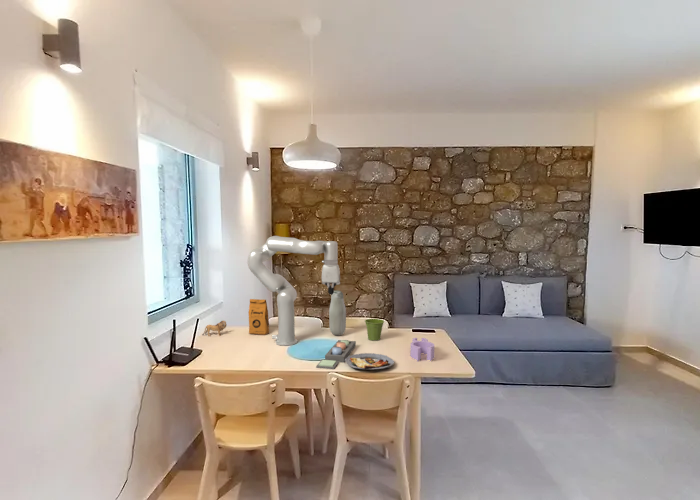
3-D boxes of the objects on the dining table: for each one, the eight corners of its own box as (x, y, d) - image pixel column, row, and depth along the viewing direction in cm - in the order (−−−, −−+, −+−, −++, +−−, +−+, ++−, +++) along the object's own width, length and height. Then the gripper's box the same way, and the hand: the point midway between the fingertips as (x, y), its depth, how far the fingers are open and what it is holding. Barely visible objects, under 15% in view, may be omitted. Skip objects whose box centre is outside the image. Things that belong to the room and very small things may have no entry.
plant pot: (381, 342, 255) (381, 323, 254) (361, 340, 259) (362, 322, 259) (386, 337, 266) (386, 319, 266) (368, 335, 270) (368, 317, 270)
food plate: (401, 369, 210) (401, 362, 210) (356, 376, 202) (356, 368, 202) (380, 355, 234) (380, 349, 234) (339, 360, 226) (339, 354, 226)
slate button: (331, 356, 225) (331, 349, 225) (333, 354, 230) (333, 346, 229) (340, 357, 224) (340, 349, 224) (342, 354, 229) (342, 347, 228)
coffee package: (265, 336, 269) (264, 301, 267) (246, 335, 272) (246, 300, 270) (271, 332, 279) (271, 298, 277) (253, 330, 281) (252, 297, 280)
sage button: (339, 349, 243) (339, 341, 242) (341, 346, 247) (341, 339, 247) (348, 349, 241) (348, 342, 241) (350, 347, 246) (350, 340, 246)
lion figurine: (226, 333, 275) (226, 319, 274) (226, 335, 270) (226, 321, 269) (202, 335, 271) (201, 320, 271) (201, 337, 266) (201, 322, 266)
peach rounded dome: (335, 351, 234) (335, 344, 233) (337, 348, 238) (337, 341, 238) (344, 352, 233) (344, 344, 232) (346, 349, 237) (346, 342, 237)
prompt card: (316, 367, 213) (316, 364, 213) (321, 361, 222) (321, 358, 222) (334, 369, 211) (334, 366, 211) (338, 363, 220) (338, 360, 220)
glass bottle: (348, 334, 273) (348, 290, 270) (337, 338, 265) (337, 292, 263) (337, 331, 279) (337, 288, 277) (326, 335, 272) (326, 290, 269)
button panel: (325, 360, 223) (325, 355, 223) (338, 345, 250) (338, 340, 250) (344, 362, 221) (344, 356, 221) (355, 346, 248) (355, 341, 248)
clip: (407, 349, 243) (407, 337, 242) (430, 350, 243) (430, 337, 242) (412, 361, 223) (412, 348, 222) (436, 361, 223) (436, 348, 222)
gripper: (316, 263, 248) (316, 294, 249) (342, 263, 244) (342, 296, 246) (320, 261, 255) (320, 292, 256) (345, 262, 252) (345, 293, 253)
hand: (331, 294), depth 251 cm, fingers closed
